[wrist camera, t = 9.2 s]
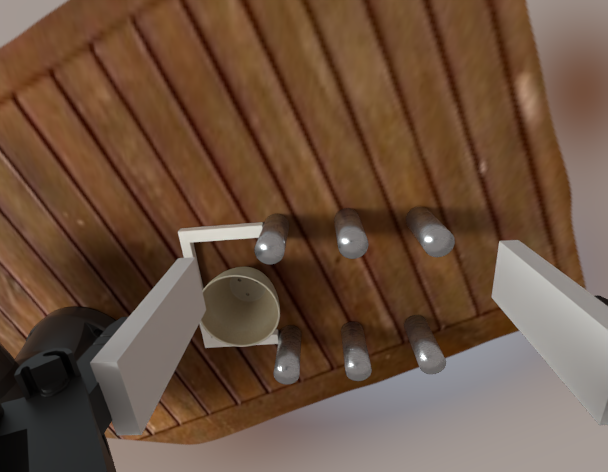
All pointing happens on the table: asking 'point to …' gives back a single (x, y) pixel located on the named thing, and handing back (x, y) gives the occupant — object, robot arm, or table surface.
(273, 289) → the flower pot
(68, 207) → the table surface
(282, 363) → the spacers
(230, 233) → the frame
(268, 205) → the table surface
